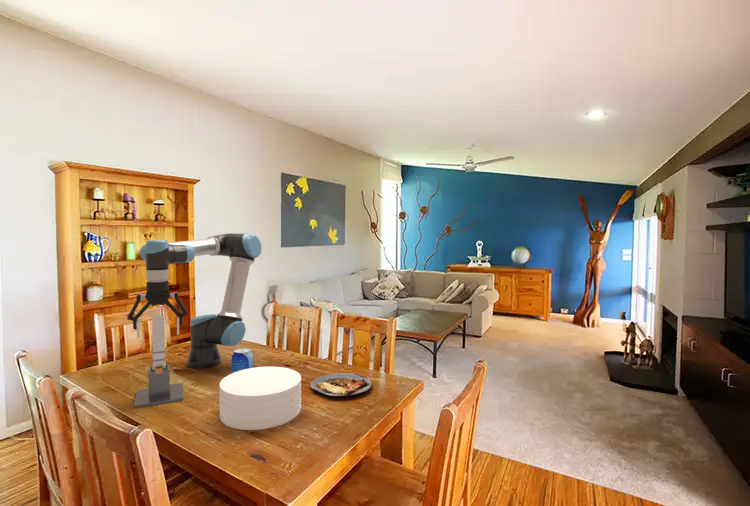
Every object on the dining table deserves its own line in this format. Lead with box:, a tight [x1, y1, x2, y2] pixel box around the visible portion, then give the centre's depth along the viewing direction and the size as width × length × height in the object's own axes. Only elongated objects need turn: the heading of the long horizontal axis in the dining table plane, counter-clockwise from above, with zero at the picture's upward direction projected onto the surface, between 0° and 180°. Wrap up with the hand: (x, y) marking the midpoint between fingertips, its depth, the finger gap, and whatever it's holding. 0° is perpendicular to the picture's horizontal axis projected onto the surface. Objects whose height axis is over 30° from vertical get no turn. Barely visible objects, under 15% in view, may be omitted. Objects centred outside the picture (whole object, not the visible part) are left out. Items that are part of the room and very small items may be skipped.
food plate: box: [310, 372, 373, 397], centre depth 165 cm, size 25×23×4 cm
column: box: [151, 314, 167, 371], centre depth 154 cm, size 5×5×22 cm
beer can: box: [231, 347, 254, 374], centre depth 163 cm, size 8×8×16 cm
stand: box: [133, 363, 184, 409], centre depth 155 cm, size 16×16×12 cm
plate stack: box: [219, 366, 302, 431], centre depth 144 cm, size 28×28×12 cm
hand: (158, 335), depth 154 cm, fingers open, 13 cm apart
